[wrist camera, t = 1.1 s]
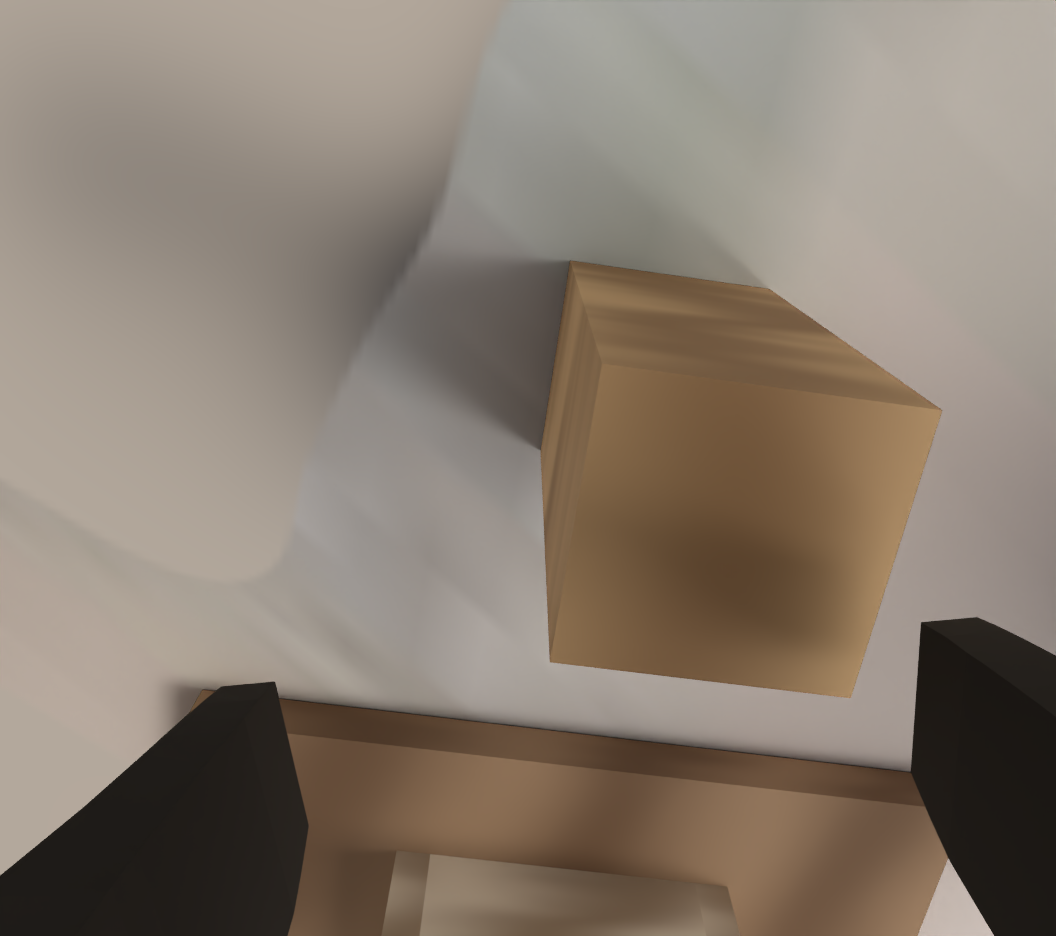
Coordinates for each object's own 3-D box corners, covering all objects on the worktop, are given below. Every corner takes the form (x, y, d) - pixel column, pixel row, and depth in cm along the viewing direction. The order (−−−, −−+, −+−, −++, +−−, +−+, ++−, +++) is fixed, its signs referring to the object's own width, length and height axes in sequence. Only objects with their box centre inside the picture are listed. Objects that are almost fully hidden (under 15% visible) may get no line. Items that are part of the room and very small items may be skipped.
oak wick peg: (769, 289, 18) (941, 410, 11) (725, 475, 19) (850, 698, 12) (570, 260, 18) (601, 363, 10) (540, 450, 19) (549, 662, 12)
